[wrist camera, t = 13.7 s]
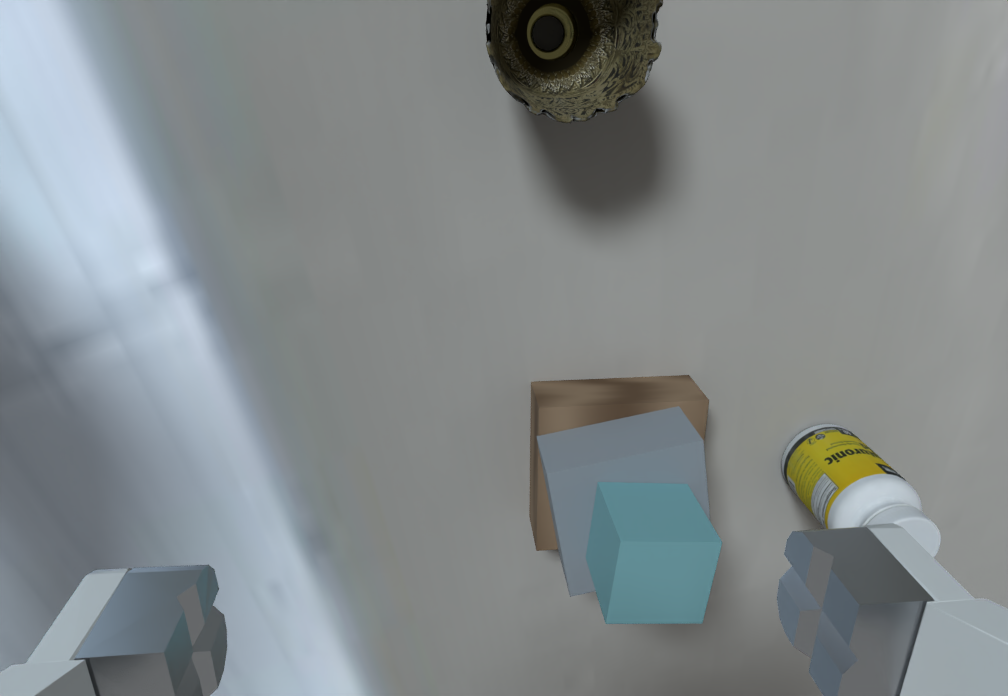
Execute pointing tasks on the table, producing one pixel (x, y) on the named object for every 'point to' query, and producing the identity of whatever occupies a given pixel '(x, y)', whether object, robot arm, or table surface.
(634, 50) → the cup
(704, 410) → the walnut base block
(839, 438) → the supplement bottle
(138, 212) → the table surface
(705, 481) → the grey top block
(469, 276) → the table surface
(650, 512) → the teal cube
